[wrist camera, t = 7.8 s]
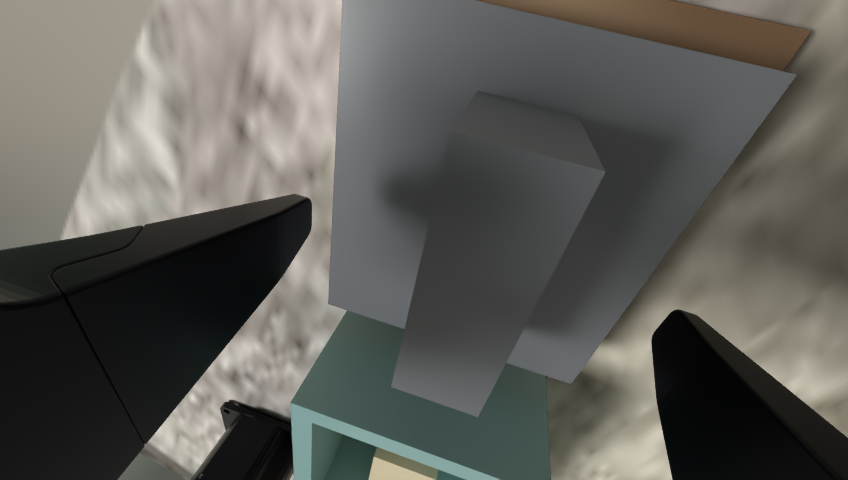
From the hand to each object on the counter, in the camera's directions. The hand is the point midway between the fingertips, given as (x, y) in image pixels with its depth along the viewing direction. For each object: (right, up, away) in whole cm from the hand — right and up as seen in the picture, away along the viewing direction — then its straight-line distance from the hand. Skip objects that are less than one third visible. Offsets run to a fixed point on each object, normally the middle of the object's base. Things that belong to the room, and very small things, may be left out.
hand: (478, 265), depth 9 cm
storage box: (-1, -7, +10) cm, 13 cm away
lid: (+1, +2, +3) cm, 4 cm away
